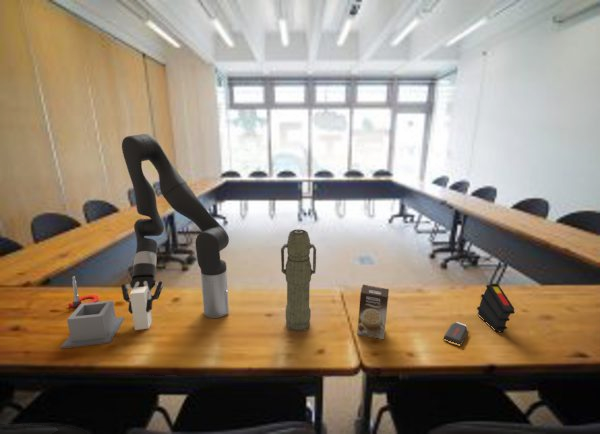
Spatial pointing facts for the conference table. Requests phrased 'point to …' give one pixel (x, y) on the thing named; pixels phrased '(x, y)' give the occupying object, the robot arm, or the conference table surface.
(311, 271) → the thermos
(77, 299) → the tow hook
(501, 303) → the black ridged case
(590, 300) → the conference table surface
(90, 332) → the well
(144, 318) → the white square block
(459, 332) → the usb drive
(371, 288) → the coffee box
